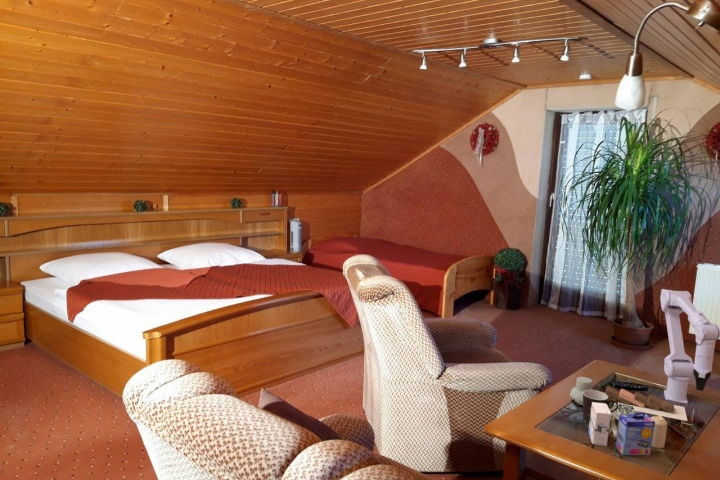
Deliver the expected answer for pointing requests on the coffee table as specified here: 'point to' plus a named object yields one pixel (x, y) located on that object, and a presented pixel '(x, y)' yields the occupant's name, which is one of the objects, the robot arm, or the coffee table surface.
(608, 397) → the tile
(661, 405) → the tile
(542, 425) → the coffee table surface
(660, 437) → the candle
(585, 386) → the air freshener
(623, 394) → the tile
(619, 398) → the tile
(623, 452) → the ink cartridge box
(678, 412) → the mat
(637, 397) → the tile
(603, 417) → the ink box
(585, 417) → the coffee mug
